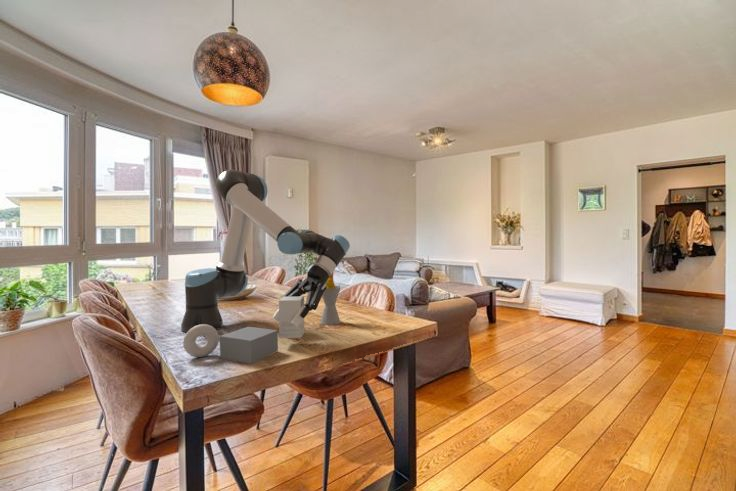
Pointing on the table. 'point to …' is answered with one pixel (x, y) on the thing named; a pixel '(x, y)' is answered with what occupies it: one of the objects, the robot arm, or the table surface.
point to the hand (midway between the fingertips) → (284, 322)
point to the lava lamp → (330, 303)
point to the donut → (194, 333)
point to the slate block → (248, 344)
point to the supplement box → (290, 317)
